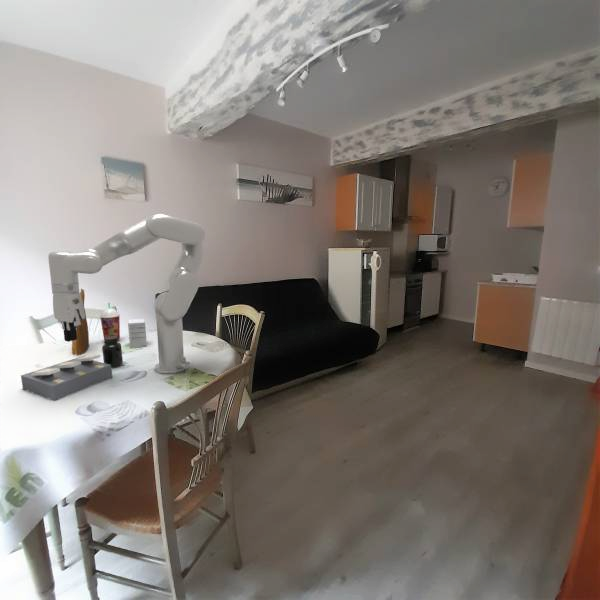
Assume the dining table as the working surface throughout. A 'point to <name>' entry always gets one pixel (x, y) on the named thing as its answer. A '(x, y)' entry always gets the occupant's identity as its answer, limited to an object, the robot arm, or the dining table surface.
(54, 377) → the console
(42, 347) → the dining table surface
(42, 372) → the rocker
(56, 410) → the dining table surface
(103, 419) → the dining table surface
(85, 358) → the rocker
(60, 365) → the rocker
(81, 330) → the pancake mix bag
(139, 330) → the supplement box
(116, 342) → the supplement bottle
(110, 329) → the smoothie
